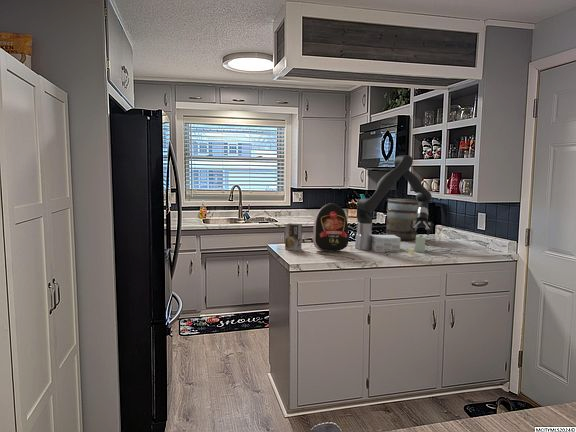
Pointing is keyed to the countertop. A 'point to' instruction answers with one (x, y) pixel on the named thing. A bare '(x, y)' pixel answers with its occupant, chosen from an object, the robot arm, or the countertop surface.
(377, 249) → the supplement box
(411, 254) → the butter plate
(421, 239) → the grey rectangular block
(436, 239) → the countertop surface
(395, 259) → the countertop surface
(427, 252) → the mat
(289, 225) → the coffee box
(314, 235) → the packaged food
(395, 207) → the barrel
